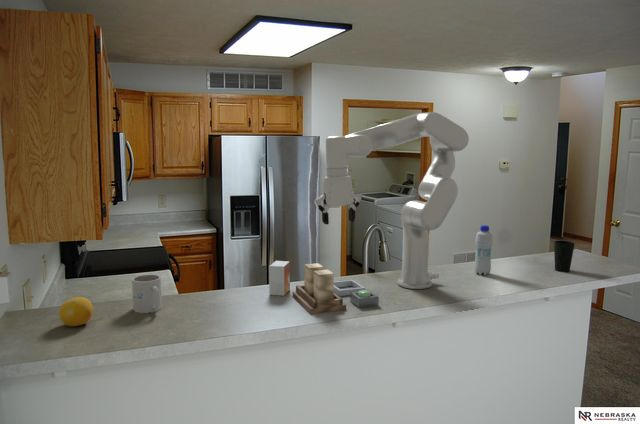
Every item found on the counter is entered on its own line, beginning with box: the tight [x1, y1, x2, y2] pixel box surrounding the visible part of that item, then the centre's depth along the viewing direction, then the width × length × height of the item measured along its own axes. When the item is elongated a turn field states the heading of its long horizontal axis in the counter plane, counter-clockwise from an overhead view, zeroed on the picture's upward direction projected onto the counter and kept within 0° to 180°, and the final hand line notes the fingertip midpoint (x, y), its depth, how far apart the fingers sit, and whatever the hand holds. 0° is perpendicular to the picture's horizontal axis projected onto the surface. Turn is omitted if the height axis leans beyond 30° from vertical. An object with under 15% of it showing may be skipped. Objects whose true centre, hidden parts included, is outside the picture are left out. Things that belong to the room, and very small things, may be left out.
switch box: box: [349, 290, 380, 309], centre depth 164 cm, size 7×7×3 cm
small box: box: [268, 260, 291, 297], centre depth 175 cm, size 8×6×10 cm
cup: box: [553, 240, 576, 273], centre depth 206 cm, size 8×8×12 cm
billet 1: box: [303, 262, 324, 293], centre depth 168 cm, size 5×5×10 cm
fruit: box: [58, 296, 94, 327], centre depth 143 cm, size 9×8×8 cm
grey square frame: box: [334, 279, 366, 297], centre depth 178 cm, size 10×11×2 cm
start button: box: [358, 289, 370, 297], centre depth 164 cm, size 4×4×3 cm
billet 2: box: [314, 269, 335, 301], centre depth 160 cm, size 5×5×10 cm
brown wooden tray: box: [292, 284, 347, 315], centre depth 164 cm, size 12×19×4 cm, turn 20°
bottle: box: [474, 224, 494, 276], centre depth 199 cm, size 7×7×20 cm
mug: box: [131, 274, 163, 314], centre depth 156 cm, size 12×9×10 cm
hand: (338, 222), depth 170 cm, fingers open, 9 cm apart
